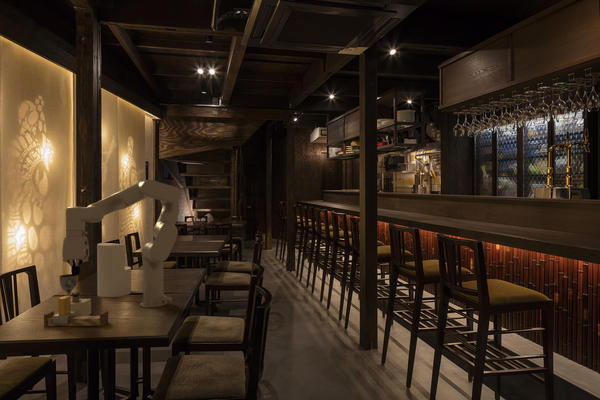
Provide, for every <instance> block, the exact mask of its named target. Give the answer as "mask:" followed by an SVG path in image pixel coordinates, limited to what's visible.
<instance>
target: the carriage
mask: <svg viewBox="0 0 600 400" xmlns="http://www.w3.org/2000/svg"><path fill="white" fill-rule="evenodd" d="M71 296H72V295H70V296H67V295H64V296H61V297H59V298H58V307H57V308H58V312H57V313H56V314H54V316H53V325H68V324H69V318H70V317H72V316H76V311H73V312H71V299H72V298H71Z"/></svg>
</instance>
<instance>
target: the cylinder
mask: <svg viewBox="0 0 600 400" xmlns="http://www.w3.org/2000/svg"><path fill="white" fill-rule="evenodd" d="M96 248H97V249H96V252H97V259H96V261H97V268H96V269H97V272H96V273H97V274H96V275H97V296H98V297H100V298H118V297H122V296H127V295H130V294H132V267H131V266H126V261H125V259H126V255H125V254H126V252H125V250H126V249H125V248H126V245H125V244H122V243H110V242H100V243H97V245H96Z"/></svg>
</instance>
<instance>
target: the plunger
mask: <svg viewBox="0 0 600 400" xmlns="http://www.w3.org/2000/svg"><path fill="white" fill-rule="evenodd" d="M70 296H72V298H71V299H72V303H78V302H79V299H80V296H81V292H80V291H75V292H71V294H70Z"/></svg>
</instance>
